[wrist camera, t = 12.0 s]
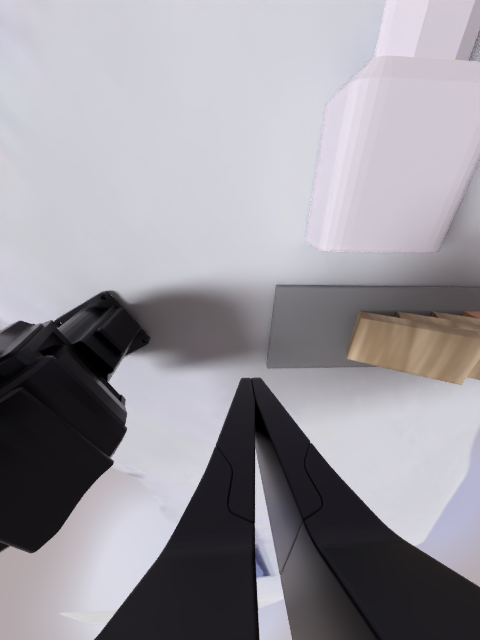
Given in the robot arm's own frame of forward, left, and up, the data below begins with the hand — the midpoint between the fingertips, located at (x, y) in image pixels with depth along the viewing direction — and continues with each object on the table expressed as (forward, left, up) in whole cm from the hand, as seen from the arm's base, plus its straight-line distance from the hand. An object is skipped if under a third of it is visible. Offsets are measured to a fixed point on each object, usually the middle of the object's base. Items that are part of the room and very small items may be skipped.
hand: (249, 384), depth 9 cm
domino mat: (+12, -13, -13) cm, 22 cm away
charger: (+15, +5, -14) cm, 20 cm away
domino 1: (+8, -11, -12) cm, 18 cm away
